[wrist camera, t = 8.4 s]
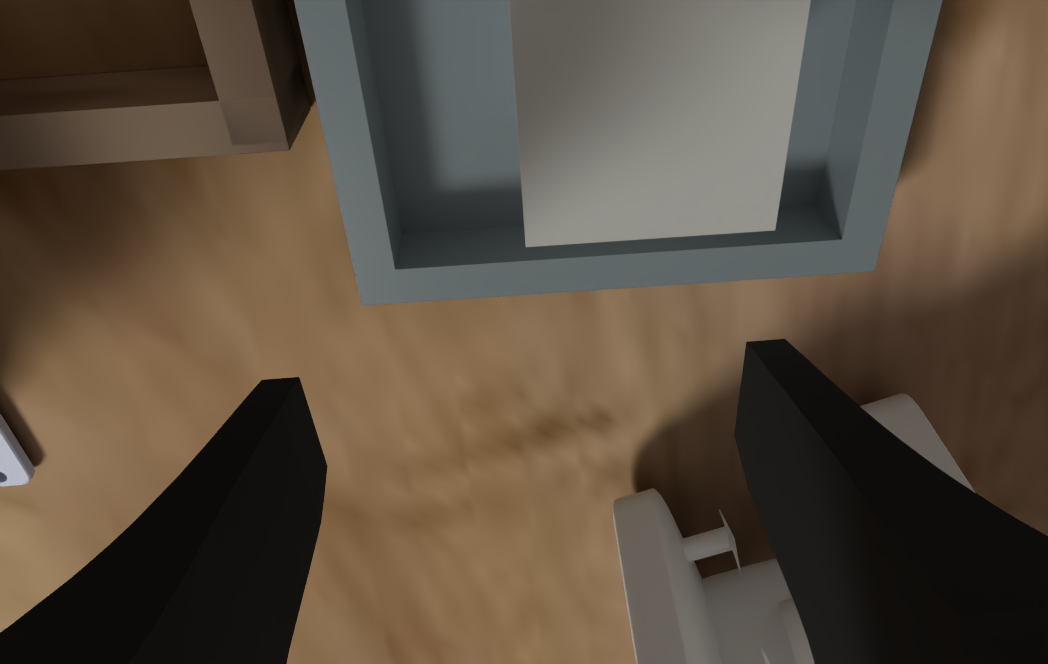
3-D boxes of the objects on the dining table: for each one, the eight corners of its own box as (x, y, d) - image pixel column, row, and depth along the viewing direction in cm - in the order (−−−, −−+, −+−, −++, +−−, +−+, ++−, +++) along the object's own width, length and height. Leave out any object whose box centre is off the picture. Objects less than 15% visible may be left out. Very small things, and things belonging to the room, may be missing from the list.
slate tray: (373, 256, 22) (362, 305, 20) (246, -368, 14) (207, -388, 12) (839, 224, 22) (874, 271, 20) (976, -422, 14) (1055, -451, 12)
